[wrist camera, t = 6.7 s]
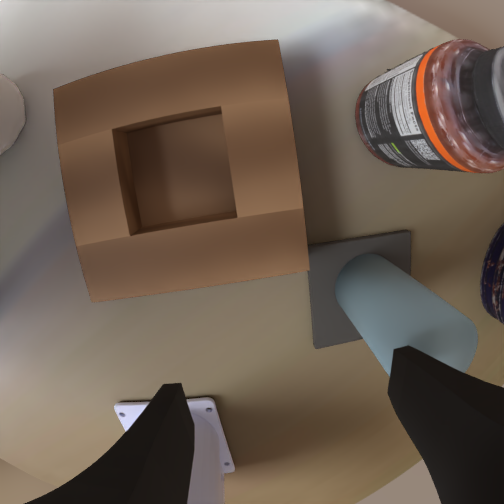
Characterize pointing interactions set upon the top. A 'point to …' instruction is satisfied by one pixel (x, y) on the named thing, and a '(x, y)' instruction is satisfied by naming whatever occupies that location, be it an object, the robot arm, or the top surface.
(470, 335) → the peg
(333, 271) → the mat
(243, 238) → the holder
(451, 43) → the supplement bottle
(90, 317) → the top surface
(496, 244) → the storage jar
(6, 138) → the salt shaker
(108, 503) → the robot arm
